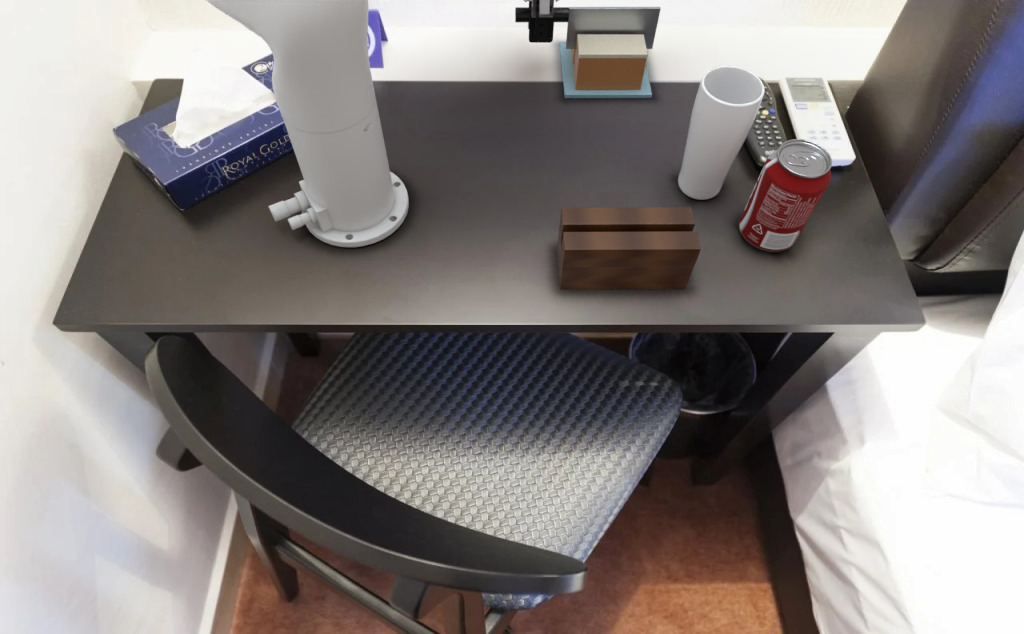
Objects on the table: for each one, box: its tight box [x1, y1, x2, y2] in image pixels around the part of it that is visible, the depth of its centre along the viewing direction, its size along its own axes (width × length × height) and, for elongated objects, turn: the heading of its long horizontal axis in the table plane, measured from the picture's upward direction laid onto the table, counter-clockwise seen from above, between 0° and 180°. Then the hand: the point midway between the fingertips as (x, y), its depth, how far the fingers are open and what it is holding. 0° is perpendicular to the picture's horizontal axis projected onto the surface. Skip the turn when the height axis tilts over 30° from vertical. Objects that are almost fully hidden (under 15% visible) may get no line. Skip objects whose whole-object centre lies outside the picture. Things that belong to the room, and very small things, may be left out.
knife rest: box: [556, 206, 702, 291], centre depth 72 cm, size 14×6×7 cm, turn 91°
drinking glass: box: [677, 65, 766, 201], centre depth 76 cm, size 7×7×15 cm
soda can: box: [738, 138, 833, 253], centre depth 73 cm, size 7×7×12 cm
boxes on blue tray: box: [559, 34, 653, 99], centre depth 92 cm, size 12×12×6 cm
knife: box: [514, 6, 662, 50], centre depth 89 cm, size 19×2×6 cm, turn 91°
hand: (540, 34), depth 90 cm, fingers closed on knife, 1 cm apart
